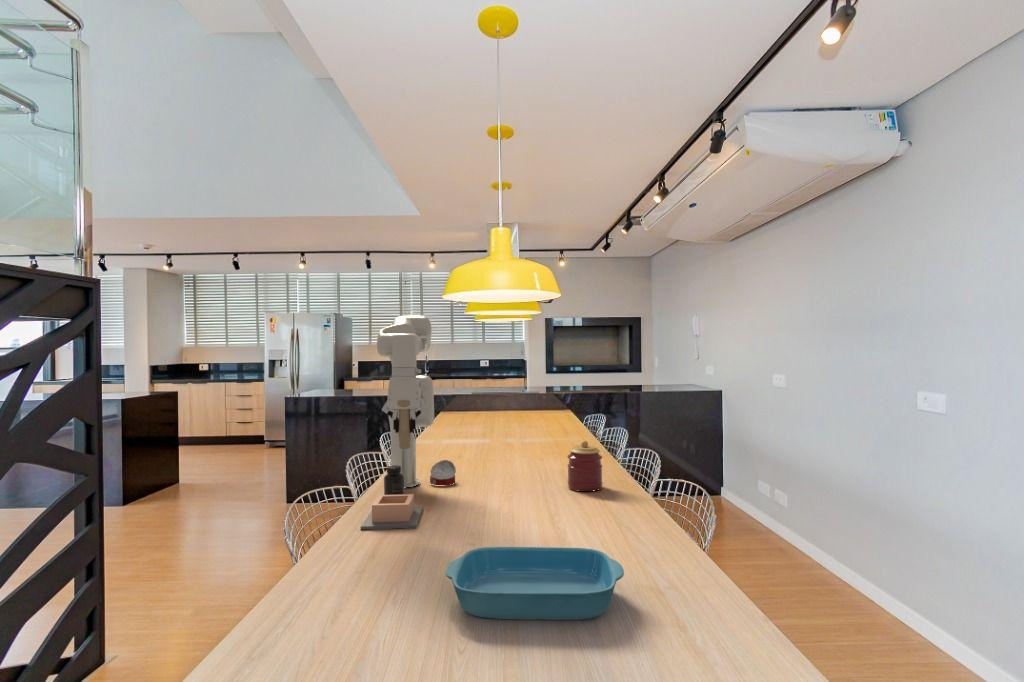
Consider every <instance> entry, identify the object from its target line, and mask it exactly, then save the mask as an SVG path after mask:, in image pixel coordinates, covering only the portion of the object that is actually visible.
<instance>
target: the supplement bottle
mask: <svg viewBox="0 0 1024 682" xmlns="http://www.w3.org/2000/svg"><path fill="white" fill-rule="evenodd" d="M400 472H401V466H398V465H394V466H391V465H388V466H386V474H385V475H384V477H383V495H403V494H405V488H404V476H403V474H401V473H400Z"/></svg>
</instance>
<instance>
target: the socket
mask: <svg viewBox="0 0 1024 682" xmlns="http://www.w3.org/2000/svg"><path fill="white" fill-rule="evenodd" d="M422 510H423V511H424V506H415V494H414V493H408V494H406V493H404V494H403V495H384V494H378V496H377V497H376V498H375V500H374V502H373V503H372V504H371V510H370V512H369V514H368V515H367V517H366V518H365V519H364V521H363V522H362V524H361V526H360V530H361V529H377V530H395V529H394V528H411V529H417V527H418V525H419V522H420V518H421V516H422V514H423V511H422ZM421 513H422V514H421ZM418 521H419V522H418ZM417 524H418V525H417ZM392 528H393V529H392Z"/></svg>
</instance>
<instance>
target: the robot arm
mask: <svg viewBox="0 0 1024 682" xmlns="http://www.w3.org/2000/svg"><path fill="white" fill-rule="evenodd" d="M431 340H432V323H431V321H430V319H429V318H428V317H427V316H426V315H400V316H397V317H396V318H394V319H393V321H392V323H391V325H390V326H386V327H383V328H382V329H380V330H379V332H378V334H377V338H376V350H377V353H378V354H379V356H381V357H384V358H385V357H386V358H387V357H388V358H389V361H390V362H391V377H389V380H388V387H387V400H386V402H385V403H384V404H383V407H382V408H381V412H384V413H385V414H387V415H388V421H389V428H390V466H394V465H398V466H401V472H400V473H401V474H403V476H404V487H412V488H414V487H413V486H416V485H418V484H419V485H420V484H421V480H420V479H419V478H417V440H416V436H415V434H414V431H415V430H416V428H428V427H431V426H433V424H434V421H435V394H434V393H435V391H434V382H433V379H432V378H431V377H430V376H429V375H425V374H424V375H419V374H422V369H419V368H418V367H417V356H418V355H419V354H420V353H424V352H428V351H429V349H430V348H431V344H432V343H431ZM398 401H410V405H409V406H407V407H400V406H398ZM402 409H406V410H410V432H411V441H410V448H408V449H400V447H399V444H400V443H399V436H398V426H399V410H402ZM419 485H418V486H419ZM416 487H417V486H416Z"/></svg>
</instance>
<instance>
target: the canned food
mask: <svg viewBox="0 0 1024 682" xmlns="http://www.w3.org/2000/svg"><path fill="white" fill-rule="evenodd" d="M456 473H457V470H456V466H455V465H454V463H453V462H452V461H451V460H448V459H442V460H439V461H437V462H436V463H435V464H434V465H432V467H431V469H430V476H429V484H430V483H431V484H434V485H450V484H453V483H455V484H456Z"/></svg>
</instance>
